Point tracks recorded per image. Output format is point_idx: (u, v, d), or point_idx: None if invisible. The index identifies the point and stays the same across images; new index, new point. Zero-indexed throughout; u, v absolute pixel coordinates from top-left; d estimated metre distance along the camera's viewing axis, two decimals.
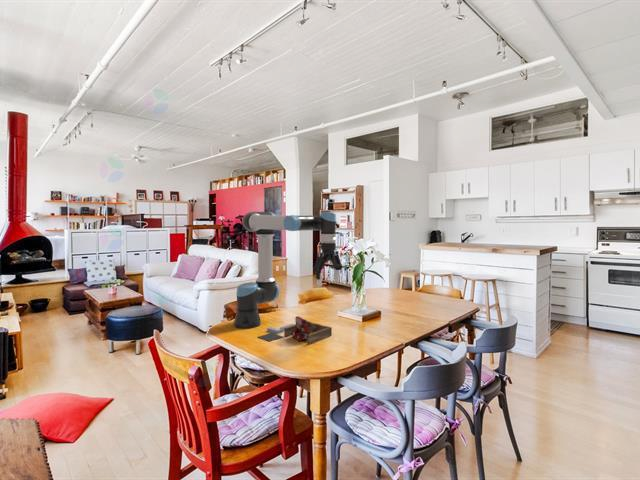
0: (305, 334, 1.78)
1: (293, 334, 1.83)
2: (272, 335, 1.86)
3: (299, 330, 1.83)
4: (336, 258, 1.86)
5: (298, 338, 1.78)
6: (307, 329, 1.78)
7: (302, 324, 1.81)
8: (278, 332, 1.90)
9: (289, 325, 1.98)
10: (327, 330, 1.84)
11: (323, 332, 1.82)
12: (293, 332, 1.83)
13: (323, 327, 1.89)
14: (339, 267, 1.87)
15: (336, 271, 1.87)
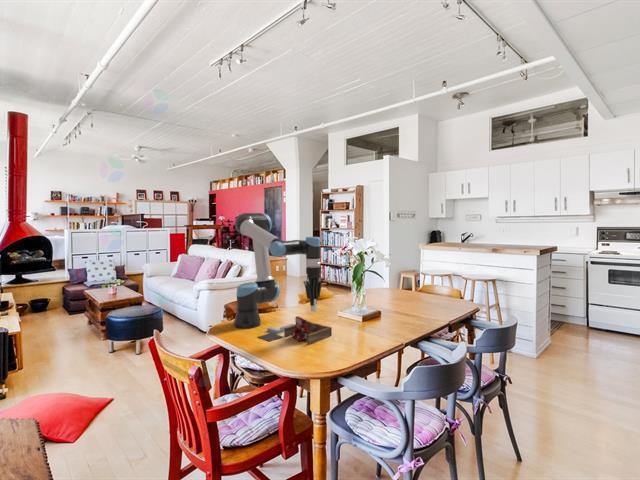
0: (305, 334, 1.78)
1: (293, 334, 1.83)
2: (272, 335, 1.86)
3: (299, 330, 1.83)
4: (318, 285, 1.90)
5: (298, 338, 1.78)
6: (307, 329, 1.78)
7: (302, 324, 1.81)
8: (278, 332, 1.90)
9: (289, 325, 1.98)
10: (327, 330, 1.84)
11: (323, 332, 1.82)
12: (293, 332, 1.83)
13: (323, 327, 1.89)
14: (317, 296, 1.88)
15: None
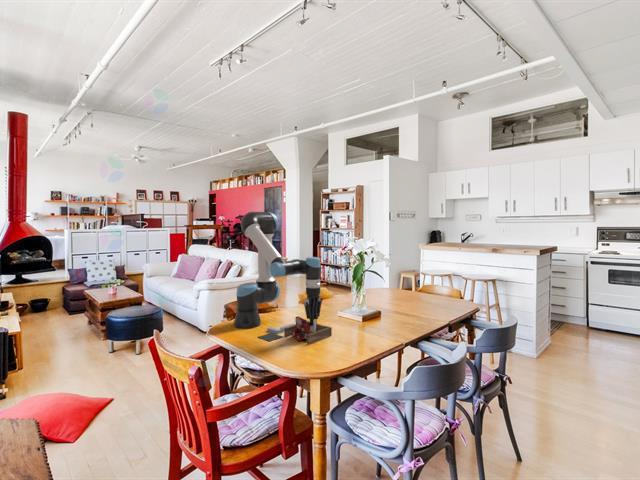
0: (305, 334, 1.78)
1: (293, 334, 1.83)
2: (272, 335, 1.86)
3: (299, 330, 1.83)
4: (318, 305, 1.91)
5: (298, 338, 1.78)
6: (307, 329, 1.78)
7: (302, 324, 1.81)
8: (278, 332, 1.90)
9: (289, 325, 1.98)
10: (327, 330, 1.84)
11: (323, 332, 1.82)
12: (293, 332, 1.83)
13: (323, 327, 1.89)
14: (317, 316, 1.89)
15: None
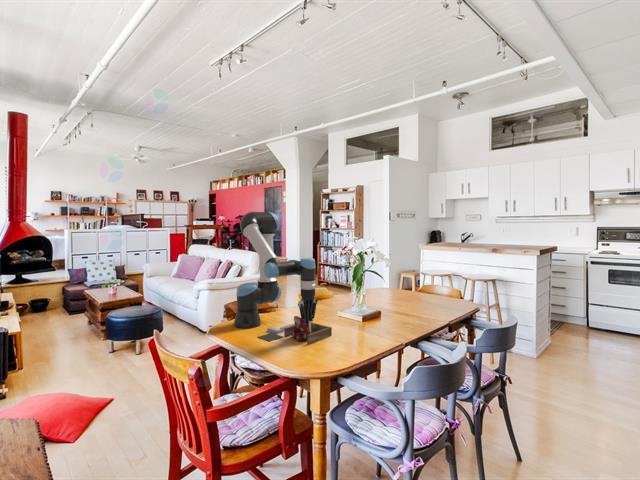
0: (304, 334, 1.78)
1: (293, 334, 1.83)
2: (272, 335, 1.86)
3: (298, 330, 1.83)
4: (313, 306, 1.88)
5: (298, 338, 1.78)
6: (306, 328, 1.77)
7: (301, 324, 1.80)
8: (278, 332, 1.90)
9: (289, 325, 1.98)
10: (327, 330, 1.84)
11: (323, 332, 1.82)
12: (292, 332, 1.83)
13: (323, 327, 1.89)
14: (312, 318, 1.86)
15: None
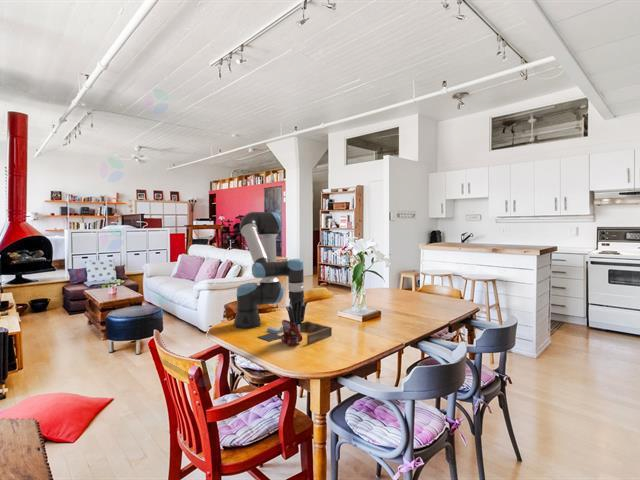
0: (296, 337, 1.72)
1: (282, 339, 1.76)
2: (272, 335, 1.86)
3: (288, 334, 1.76)
4: (302, 309, 1.81)
5: (289, 343, 1.72)
6: (298, 332, 1.71)
7: (291, 328, 1.74)
8: (278, 332, 1.90)
9: None
10: (327, 330, 1.84)
11: (323, 332, 1.82)
12: (282, 337, 1.76)
13: (323, 327, 1.89)
14: (301, 321, 1.79)
15: (297, 326, 1.79)
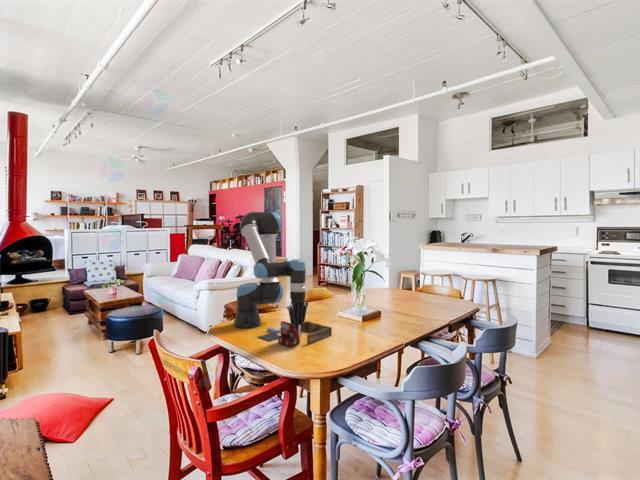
0: (294, 339, 1.70)
1: (280, 340, 1.74)
2: (272, 335, 1.86)
3: (286, 335, 1.75)
4: (303, 309, 1.82)
5: (287, 344, 1.70)
6: (296, 334, 1.70)
7: (290, 329, 1.73)
8: (278, 332, 1.90)
9: None
10: (327, 330, 1.84)
11: (323, 332, 1.82)
12: (280, 338, 1.74)
13: (323, 327, 1.89)
14: (302, 322, 1.80)
15: None
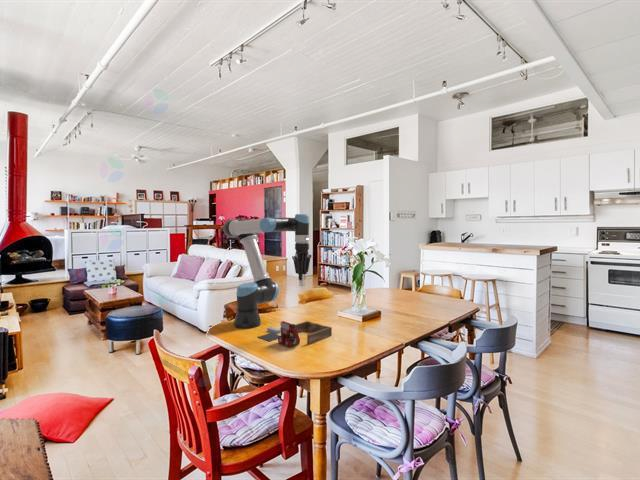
0: (294, 339, 1.70)
1: (280, 340, 1.74)
2: (272, 335, 1.86)
3: (286, 335, 1.75)
4: (307, 261, 1.97)
5: (287, 344, 1.70)
6: (296, 334, 1.70)
7: (290, 329, 1.73)
8: (278, 332, 1.90)
9: None
10: (327, 330, 1.84)
11: (323, 332, 1.82)
12: (280, 338, 1.74)
13: (323, 327, 1.89)
14: (305, 272, 1.95)
15: None
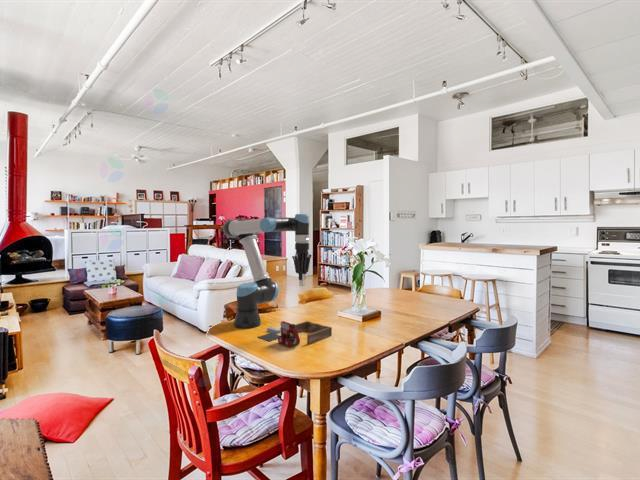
0: (294, 339, 1.70)
1: (280, 340, 1.74)
2: (272, 335, 1.86)
3: (286, 335, 1.75)
4: (307, 260, 1.98)
5: (287, 344, 1.70)
6: (296, 334, 1.70)
7: (290, 329, 1.73)
8: (278, 332, 1.90)
9: None
10: (327, 330, 1.84)
11: (323, 332, 1.82)
12: (280, 338, 1.74)
13: (323, 327, 1.89)
14: (305, 271, 1.96)
15: None
